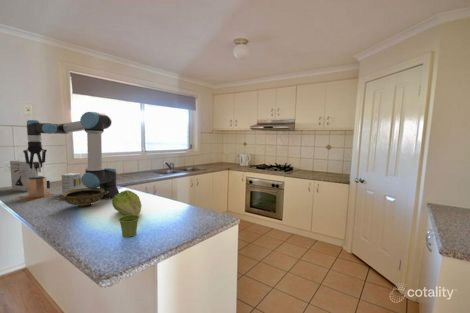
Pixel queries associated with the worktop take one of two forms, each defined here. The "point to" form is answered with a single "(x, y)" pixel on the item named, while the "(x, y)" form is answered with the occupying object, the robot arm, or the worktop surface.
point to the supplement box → (71, 181)
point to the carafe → (37, 187)
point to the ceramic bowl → (83, 196)
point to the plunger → (36, 165)
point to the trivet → (36, 198)
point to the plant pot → (129, 225)
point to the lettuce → (127, 203)
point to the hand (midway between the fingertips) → (36, 172)
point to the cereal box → (21, 174)
